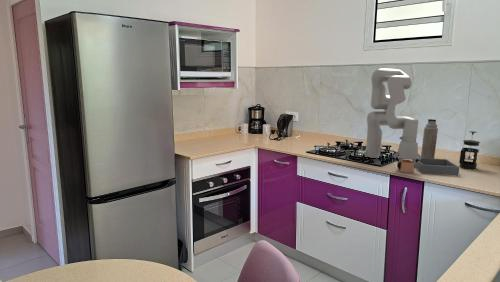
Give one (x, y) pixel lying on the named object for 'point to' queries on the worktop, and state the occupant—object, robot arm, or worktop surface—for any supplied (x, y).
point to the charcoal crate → (437, 166)
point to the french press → (462, 161)
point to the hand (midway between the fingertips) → (405, 169)
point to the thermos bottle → (429, 139)
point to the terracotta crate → (407, 166)
